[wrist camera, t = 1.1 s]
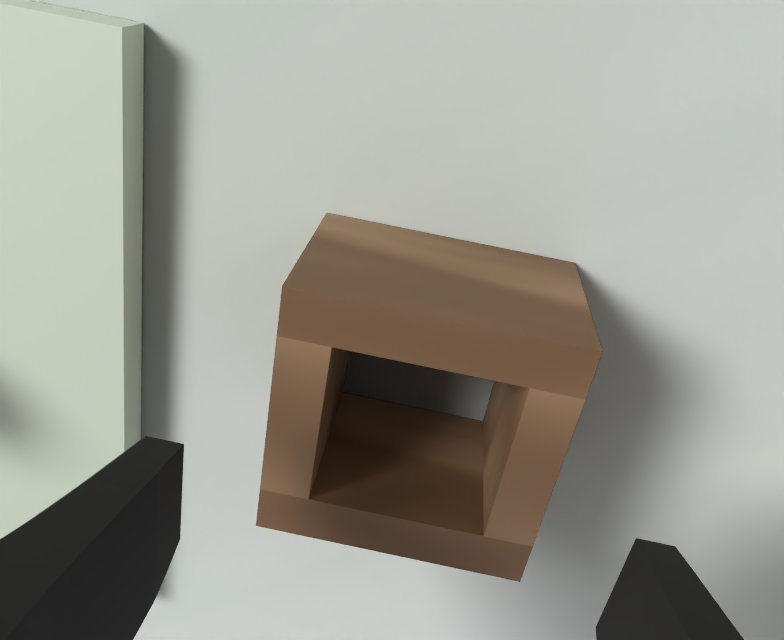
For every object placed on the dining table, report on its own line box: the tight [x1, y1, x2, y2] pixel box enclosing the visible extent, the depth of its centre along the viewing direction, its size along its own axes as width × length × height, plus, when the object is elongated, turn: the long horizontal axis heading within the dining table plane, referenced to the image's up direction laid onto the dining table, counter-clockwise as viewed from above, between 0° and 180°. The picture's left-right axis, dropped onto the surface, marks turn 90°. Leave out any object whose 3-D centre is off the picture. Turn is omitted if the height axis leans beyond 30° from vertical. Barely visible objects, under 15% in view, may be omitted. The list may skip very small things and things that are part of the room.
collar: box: [256, 213, 603, 582], centre depth 15 cm, size 6×6×4 cm
